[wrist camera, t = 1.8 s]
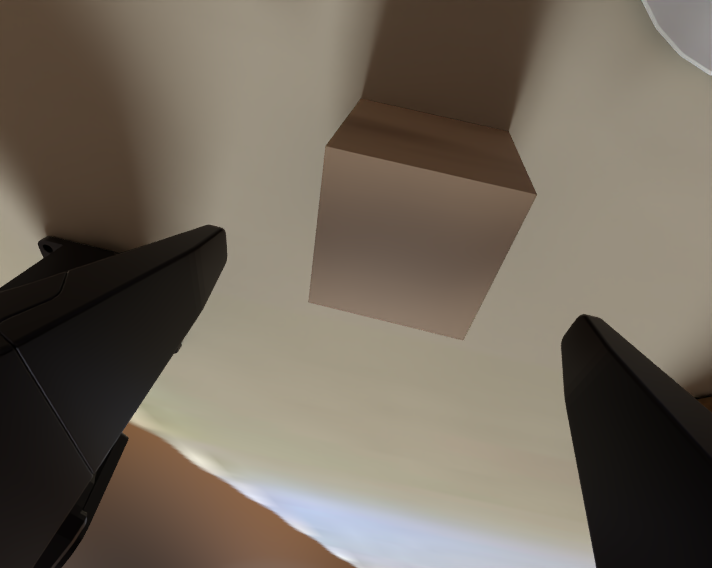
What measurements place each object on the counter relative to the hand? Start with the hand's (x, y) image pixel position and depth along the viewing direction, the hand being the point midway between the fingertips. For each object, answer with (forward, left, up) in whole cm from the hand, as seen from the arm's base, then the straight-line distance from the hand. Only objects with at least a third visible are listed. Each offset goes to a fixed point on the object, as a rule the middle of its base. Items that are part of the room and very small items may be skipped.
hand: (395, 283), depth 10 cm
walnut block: (0, 0, -6) cm, 6 cm away
